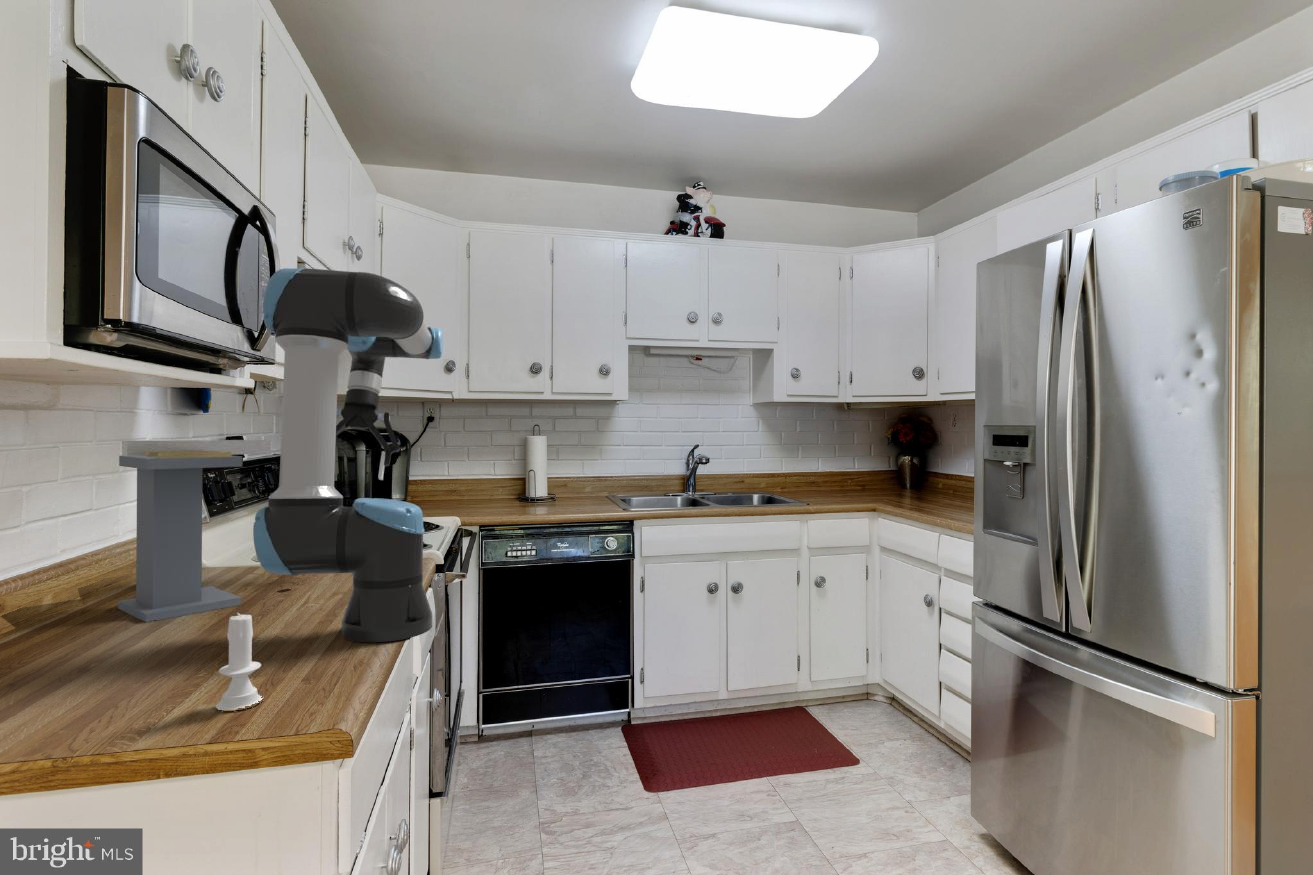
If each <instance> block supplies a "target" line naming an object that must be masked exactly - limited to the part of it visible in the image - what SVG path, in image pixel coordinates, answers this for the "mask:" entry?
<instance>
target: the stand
mask: <svg viewBox="0 0 1313 875" xmlns="http://www.w3.org/2000/svg"><path fill="white" fill-rule="evenodd" d="M118 466H119V467H124V468H130V469H131V468H132V469H133V468H134V469H136V556H135V557H136V574H135V576H136V579H135V581H136V582H135V586H136V587H135V589H136V590H135V592H136V593H135V594H136V595H135V598H130V599H122V600H118V602H117V603H118V605H117V608H118V610H121V611H122V612H124V613H126V614H128V615H130V616H132V617H134V618H136V619H138V620H141V621H142V620H143V621H142V622H144V621H145V622H144V623H151V622H155V621H154V620H157V621H160V620H167V619H171V618H177V617H181V616H182V617H183V616H188V615H195V614H199V613H200V614H201V613H203V612H204V613H205V612H209V611H217V610H221V609H226V608H231V607H236V606H241V605H242V597H241V596H239V595H236V594H233V593H231V592H228V591H225V590H222V589H219V588H216V587H214V586H209V585H208V586H205V587H204V586H203V587H202V584H203V583H202V577H203V576H202V575H203V574H202V571H203V469H207V468H210V469H211V468H232V467H233V468H236V467H239V468H241V467H243V456H239V455H232V457H199V458H158V457H146V456H130V457H127V456H122V455H119V457H118ZM150 621H151V622H150Z"/></svg>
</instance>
